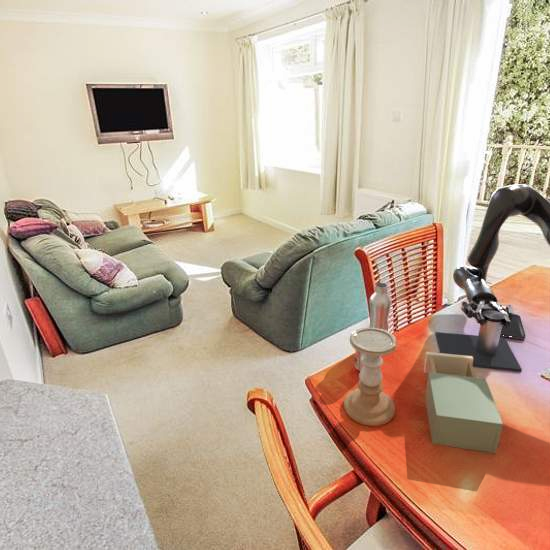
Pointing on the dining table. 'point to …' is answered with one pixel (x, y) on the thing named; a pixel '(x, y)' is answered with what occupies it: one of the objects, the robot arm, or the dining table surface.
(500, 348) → the mat
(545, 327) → the dining table surface
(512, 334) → the phone
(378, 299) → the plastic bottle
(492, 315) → the canister
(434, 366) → the drawer
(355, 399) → the candle holder
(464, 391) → the cabinet
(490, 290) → the robot arm
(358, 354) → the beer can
